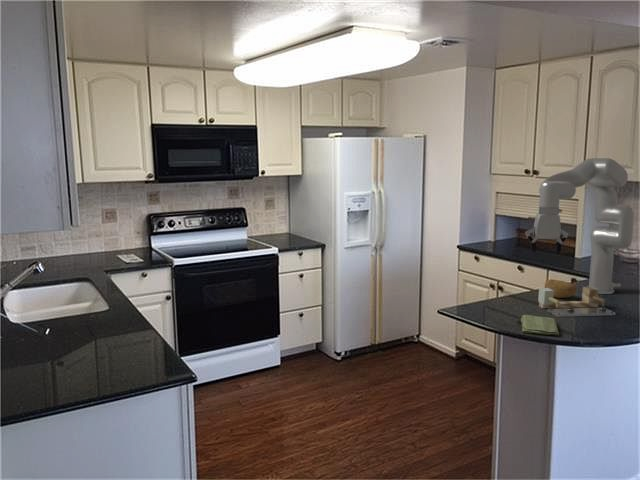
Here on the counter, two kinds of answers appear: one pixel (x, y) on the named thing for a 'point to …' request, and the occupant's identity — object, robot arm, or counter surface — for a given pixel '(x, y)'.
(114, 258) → the counter surface
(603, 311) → the bolt plate
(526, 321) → the washcloth
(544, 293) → the block
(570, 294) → the potato
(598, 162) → the robot arm
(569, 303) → the rail
